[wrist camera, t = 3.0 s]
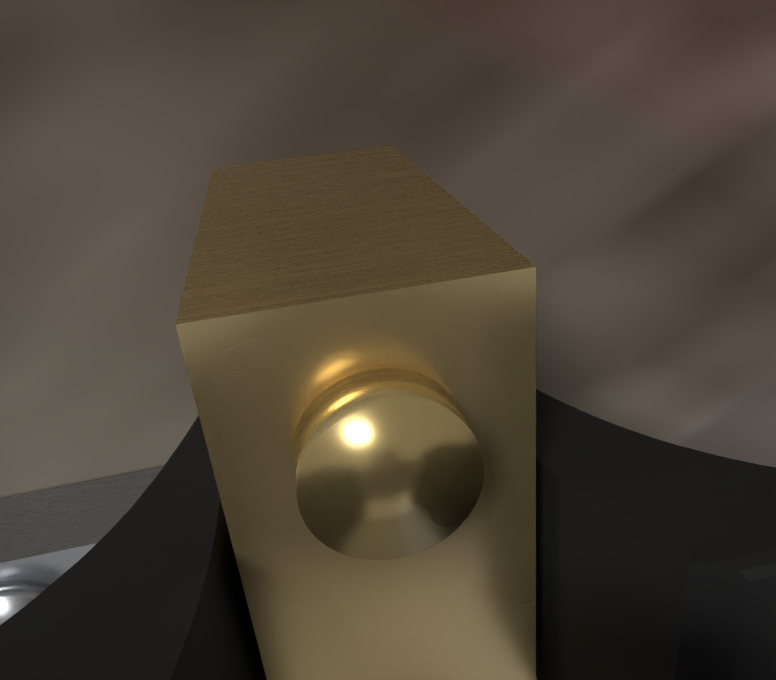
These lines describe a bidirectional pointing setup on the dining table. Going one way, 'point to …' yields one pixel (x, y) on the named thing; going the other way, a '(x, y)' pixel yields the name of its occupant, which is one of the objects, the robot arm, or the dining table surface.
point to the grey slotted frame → (58, 531)
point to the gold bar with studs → (368, 418)
